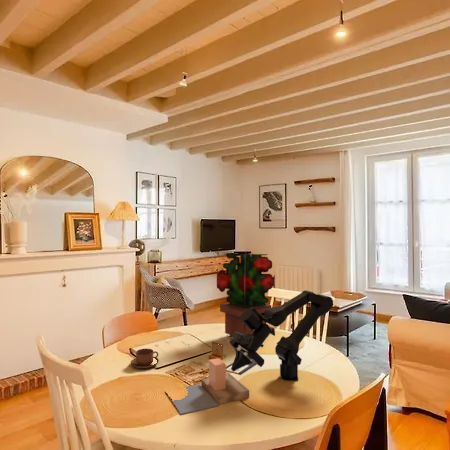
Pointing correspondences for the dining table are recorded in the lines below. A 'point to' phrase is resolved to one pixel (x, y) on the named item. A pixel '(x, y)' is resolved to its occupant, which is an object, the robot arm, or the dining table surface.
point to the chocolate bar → (242, 369)
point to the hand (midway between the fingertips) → (232, 370)
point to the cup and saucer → (144, 358)
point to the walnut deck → (226, 390)
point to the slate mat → (195, 400)
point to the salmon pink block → (217, 374)
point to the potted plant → (244, 289)
